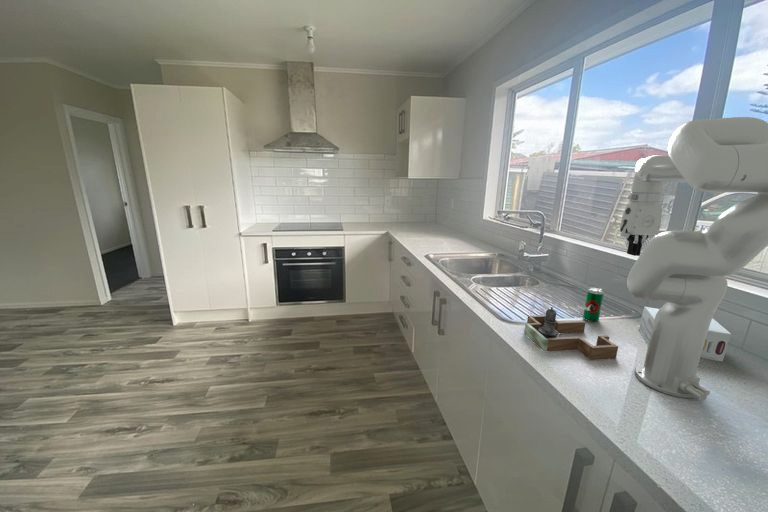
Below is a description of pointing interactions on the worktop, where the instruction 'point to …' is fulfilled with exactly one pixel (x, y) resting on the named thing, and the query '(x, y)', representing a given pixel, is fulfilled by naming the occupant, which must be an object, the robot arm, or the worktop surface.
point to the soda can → (593, 304)
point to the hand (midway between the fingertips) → (633, 254)
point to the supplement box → (713, 343)
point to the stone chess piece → (549, 325)
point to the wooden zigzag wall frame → (569, 339)
